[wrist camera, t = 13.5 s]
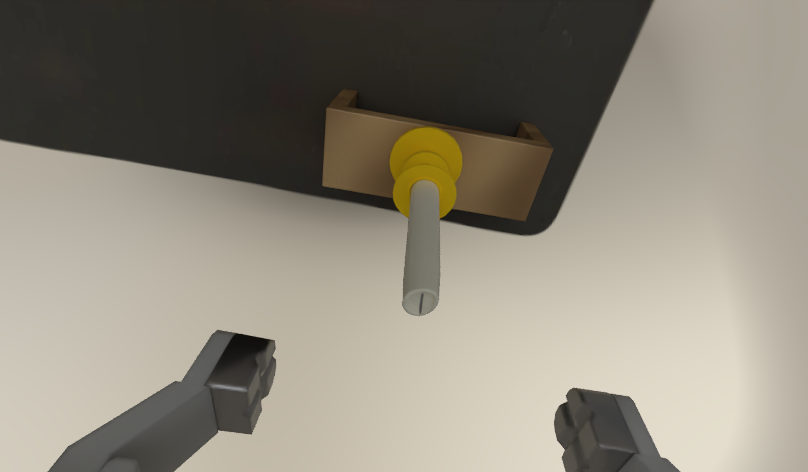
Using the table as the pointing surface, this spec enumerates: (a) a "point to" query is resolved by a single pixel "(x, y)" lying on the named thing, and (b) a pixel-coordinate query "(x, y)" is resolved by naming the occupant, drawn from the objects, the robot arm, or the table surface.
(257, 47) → the table surface
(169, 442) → the robot arm
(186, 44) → the table surface
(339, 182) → the shelf
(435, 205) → the candle
